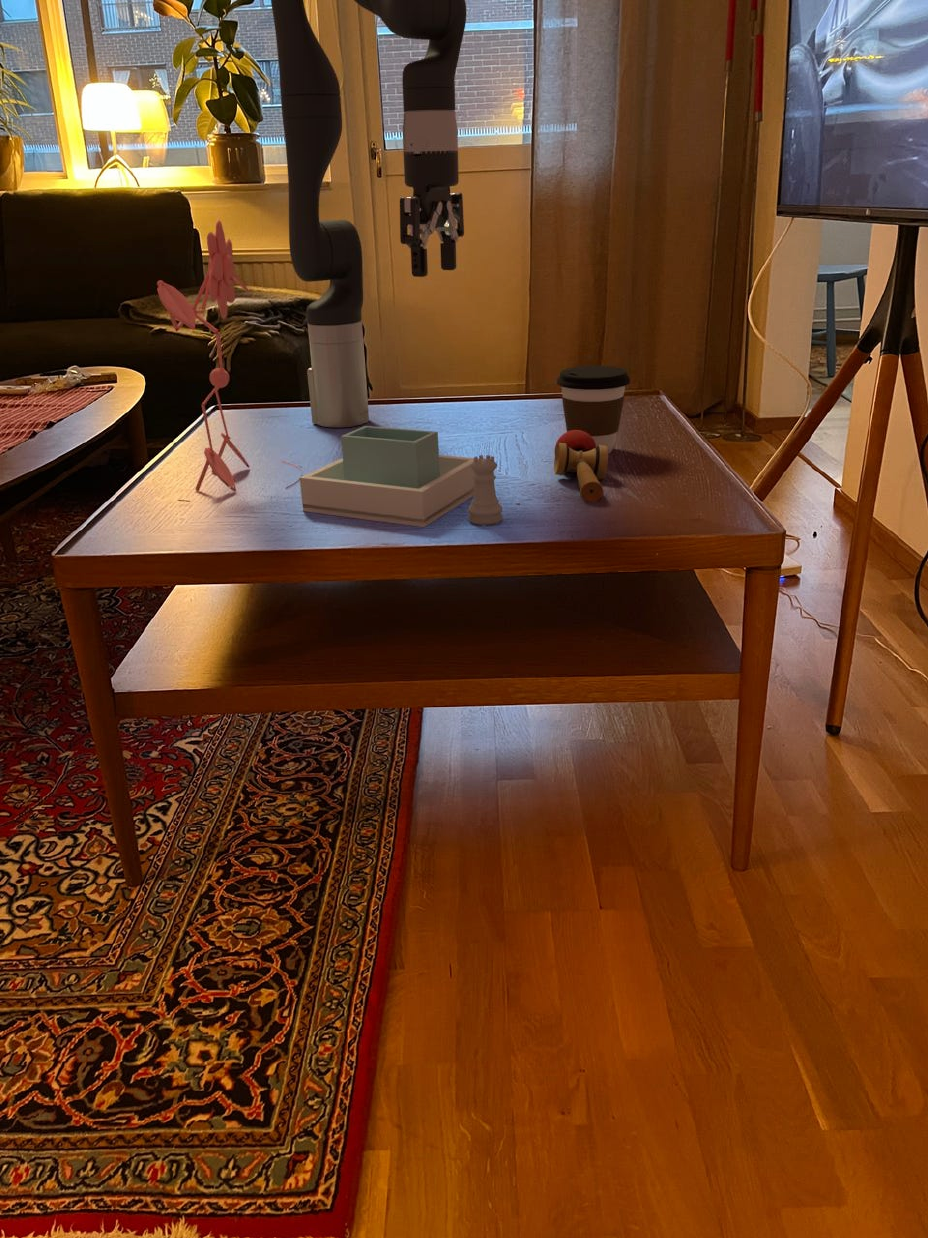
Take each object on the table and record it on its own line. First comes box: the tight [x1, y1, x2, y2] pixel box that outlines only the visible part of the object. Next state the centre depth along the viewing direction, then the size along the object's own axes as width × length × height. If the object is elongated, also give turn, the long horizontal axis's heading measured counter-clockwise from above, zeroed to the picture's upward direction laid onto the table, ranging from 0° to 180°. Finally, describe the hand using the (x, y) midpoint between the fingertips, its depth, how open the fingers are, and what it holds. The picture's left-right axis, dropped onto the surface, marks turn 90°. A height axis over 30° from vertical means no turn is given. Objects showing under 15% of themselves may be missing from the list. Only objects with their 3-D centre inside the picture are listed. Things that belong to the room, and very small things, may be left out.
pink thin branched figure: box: [156, 220, 303, 503], centre depth 134 cm, size 15×26×35 cm, turn 179°
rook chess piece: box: [467, 454, 504, 527], centre depth 120 cm, size 4×4×8 cm
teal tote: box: [340, 425, 440, 489], centre depth 128 cm, size 11×6×8 cm, turn 64°
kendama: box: [553, 430, 609, 503], centre depth 134 cm, size 8×6×18 cm
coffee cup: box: [556, 365, 631, 455], centre depth 148 cm, size 11×11×12 cm
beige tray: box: [299, 454, 475, 528], centre depth 129 cm, size 18×16×4 cm
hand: (434, 272), depth 141 cm, fingers open, 8 cm apart
